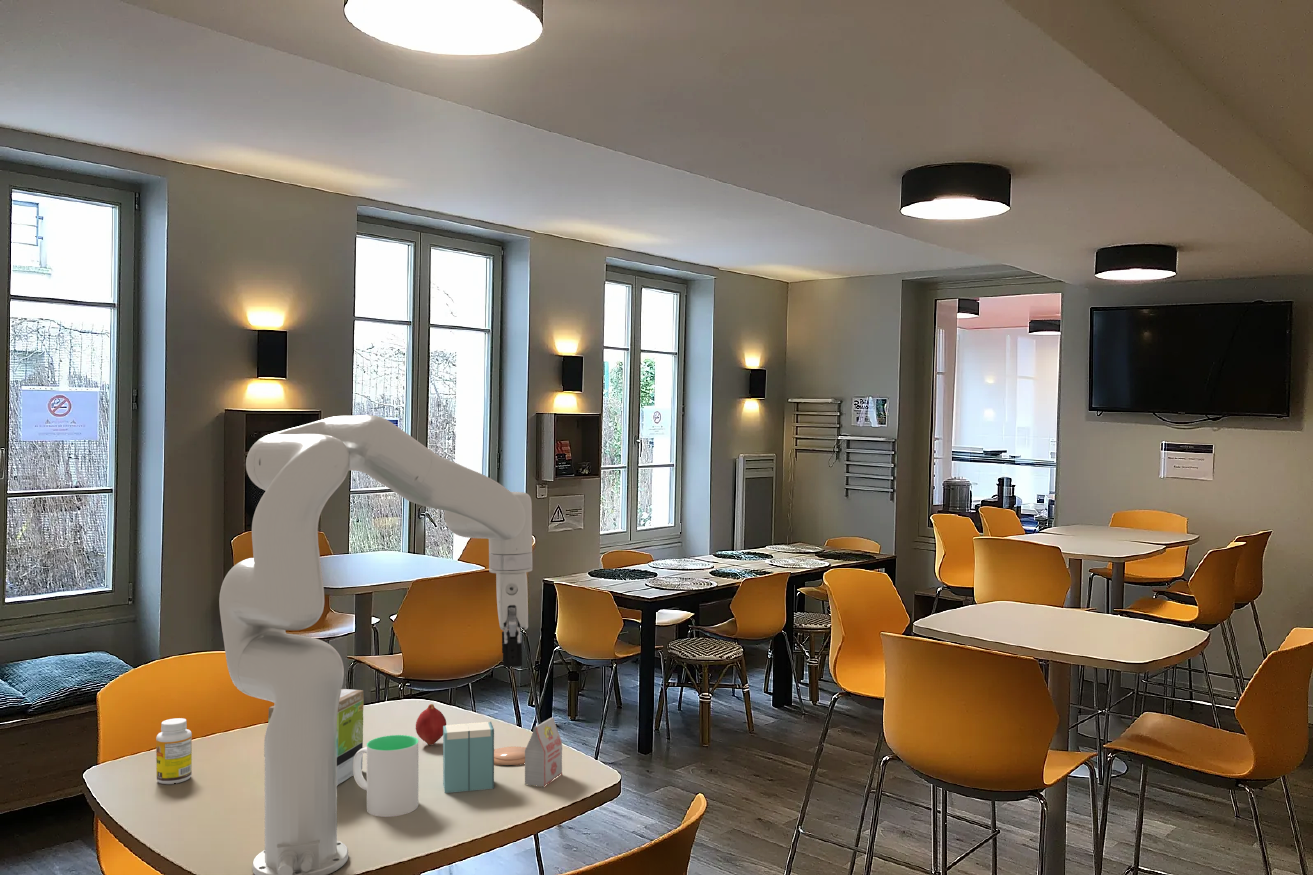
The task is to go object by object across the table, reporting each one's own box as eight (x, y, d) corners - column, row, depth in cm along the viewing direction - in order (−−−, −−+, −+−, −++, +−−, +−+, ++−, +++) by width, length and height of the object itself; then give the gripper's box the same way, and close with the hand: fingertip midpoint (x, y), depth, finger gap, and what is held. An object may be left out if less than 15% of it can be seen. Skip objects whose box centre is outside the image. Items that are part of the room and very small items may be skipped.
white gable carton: (525, 784, 171) (524, 726, 171) (543, 772, 177) (543, 716, 177) (544, 787, 169) (544, 728, 169) (561, 774, 175) (561, 718, 175)
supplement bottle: (159, 776, 175) (159, 718, 175) (194, 773, 176) (193, 715, 176) (153, 787, 169) (153, 727, 169) (189, 783, 171) (189, 724, 171)
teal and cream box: (494, 788, 168) (493, 729, 168) (444, 793, 166) (444, 732, 166) (491, 779, 173) (491, 721, 173) (443, 784, 171) (443, 725, 171)
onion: (413, 742, 194) (412, 701, 194) (442, 738, 196) (442, 698, 196) (419, 751, 188) (419, 709, 188) (449, 747, 191) (449, 705, 191)
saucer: (539, 763, 181) (539, 758, 181) (489, 767, 179) (489, 762, 179) (532, 748, 190) (532, 743, 190) (484, 752, 188) (484, 747, 188)
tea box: (320, 800, 163) (320, 710, 163) (265, 796, 165) (264, 707, 165) (364, 770, 178) (364, 687, 178) (313, 766, 180) (313, 684, 180)
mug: (336, 808, 160) (336, 743, 160) (369, 791, 167) (369, 730, 167) (397, 819, 155) (397, 753, 155) (428, 802, 162) (428, 738, 162)
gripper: (534, 569, 166) (535, 670, 167) (530, 555, 184) (531, 648, 184) (489, 570, 165) (490, 673, 165) (488, 556, 182) (490, 649, 182)
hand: (511, 659), depth 175 cm, fingers open, 9 cm apart
